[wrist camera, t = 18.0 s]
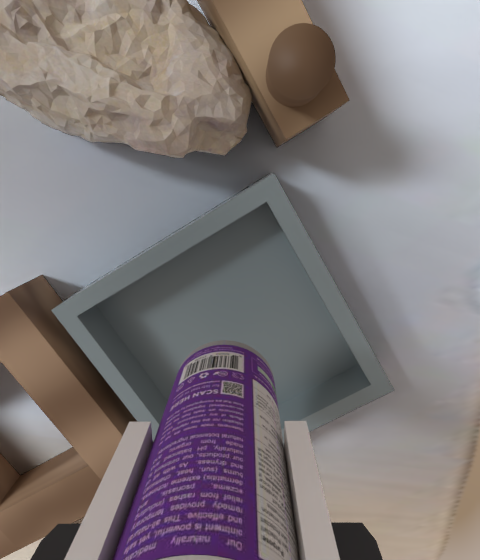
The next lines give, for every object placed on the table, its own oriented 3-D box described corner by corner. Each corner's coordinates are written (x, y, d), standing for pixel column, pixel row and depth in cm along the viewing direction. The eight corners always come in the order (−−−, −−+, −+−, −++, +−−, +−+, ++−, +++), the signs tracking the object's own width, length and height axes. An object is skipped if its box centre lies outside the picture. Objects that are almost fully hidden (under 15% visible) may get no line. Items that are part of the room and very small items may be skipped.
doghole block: (-121, 377, 25) (-177, 409, 22) (42, 274, 23) (7, 291, 20) (15, 520, 28) (-16, 566, 25) (169, 440, 26) (157, 480, 23)
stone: (106, 0, 22) (-111, -150, 14) (290, 32, 17) (136, -170, 9) (81, 131, 24) (-119, 76, 16) (239, 192, 20) (74, 161, 11)
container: (161, 405, 18) (-162, 1288, 4) (199, 323, 17) (-62, 1153, 3) (249, 440, 19) (260, 1346, 4) (291, 363, 18) (508, 1254, 3)
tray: (74, 293, 23) (51, 310, 21) (270, 173, 21) (274, 173, 18) (196, 455, 27) (190, 489, 24) (377, 364, 24) (394, 390, 22)
